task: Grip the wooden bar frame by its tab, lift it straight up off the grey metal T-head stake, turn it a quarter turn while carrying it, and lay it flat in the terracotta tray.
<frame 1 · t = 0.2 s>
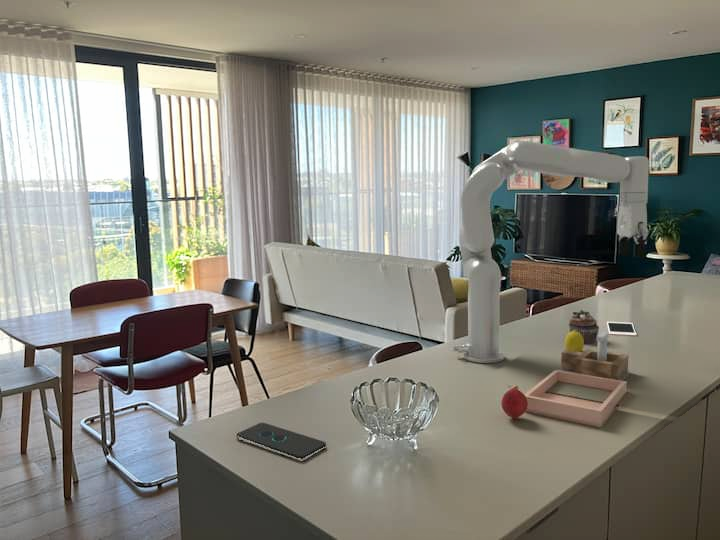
hand: (631, 255, 178), 31 cm above the worktop, fingers open, 9 cm apart
cell phone: (620, 330, 213), on the worktop
tray: (575, 403, 145), on the worktop
slab with cyan rings: (280, 446, 128), on the worktop
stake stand: (592, 376, 163), on the worktop
cupcake: (583, 340, 200), on the worktop
onion: (514, 419, 137), on the worktop
wooden bar frame: (601, 374, 162), point 1 cm above the worktop, touching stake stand
lemon: (574, 356, 184), on the worktop
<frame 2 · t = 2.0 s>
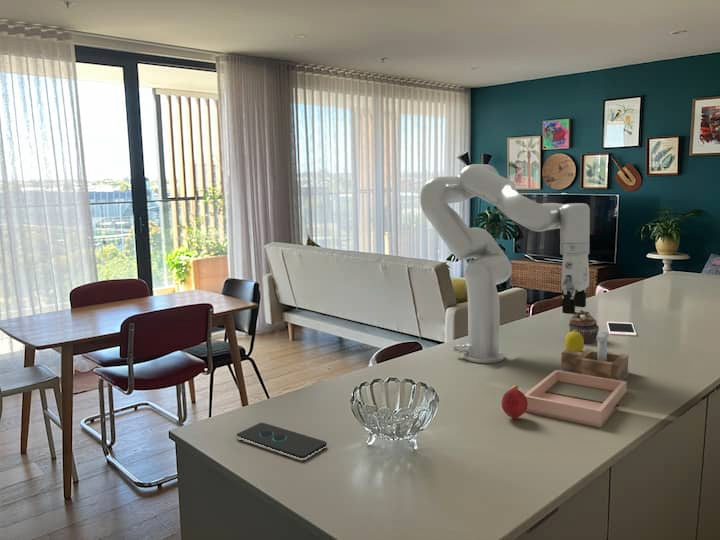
hand: (574, 309, 164), 18 cm above the worktop, fingers open, 9 cm apart
nothing on the worktop moved.
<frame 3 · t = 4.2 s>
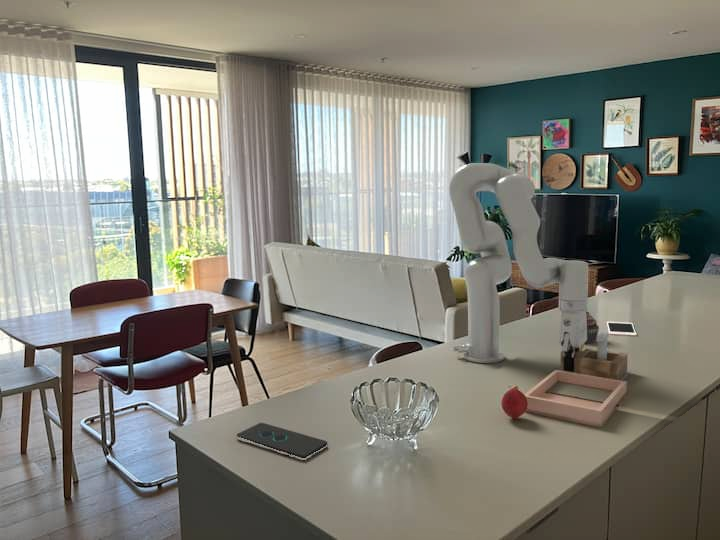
hand: (571, 368, 167), 2 cm above the worktop, fingers closed on wooden bar frame, 3 cm apart
wooden bar frame: (600, 373, 162), point 1 cm above the worktop, touching gripper, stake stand
everything else where it was.
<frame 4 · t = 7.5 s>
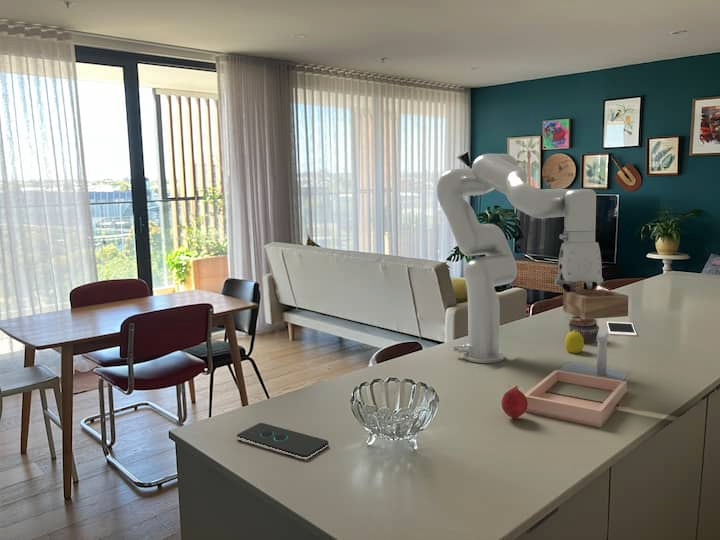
hand: (578, 307, 154), 21 cm above the worktop, fingers closed on wooden bar frame, 3 cm apart
wooden bar frame: (594, 313, 147), point 21 cm above the worktop, touching gripper
everything else where it was.
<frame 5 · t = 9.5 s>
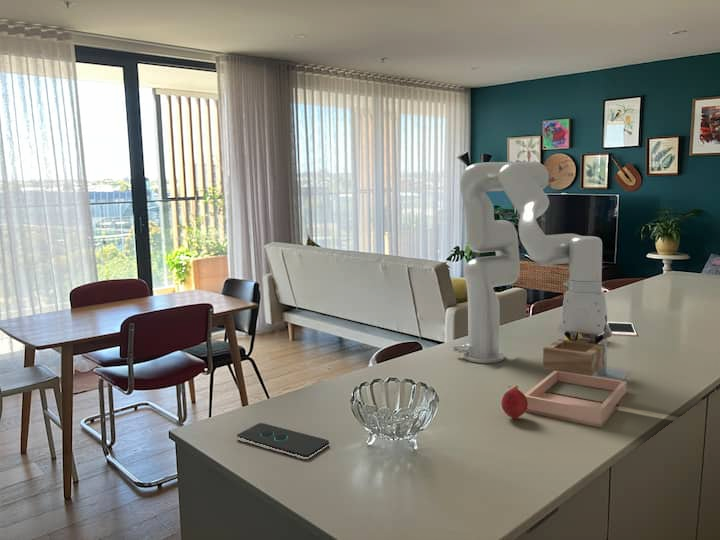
hand: (584, 358, 148), 10 cm above the worktop, fingers closed on wooden bar frame, 3 cm apart
wooden bar frame: (573, 366, 141), point 10 cm above the worktop, touching gripper
everything else where it was.
when the fingers open (3 cm above the worktop, at t = 11.0 s): wooden bar frame stays where it is, resting on tray.
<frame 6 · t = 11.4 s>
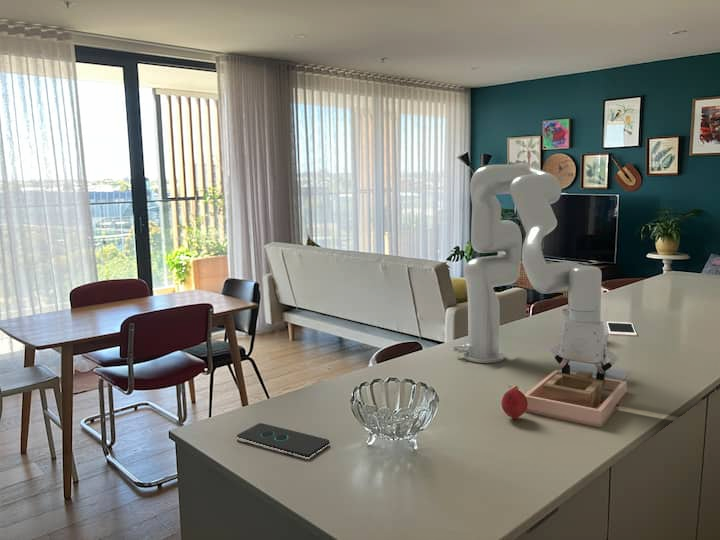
hand: (582, 383, 149), 3 cm above the worktop, fingers open, 7 cm apart
wooden bar frame: (573, 402, 143), point 1 cm above the worktop, touching tray
everything else where it was.
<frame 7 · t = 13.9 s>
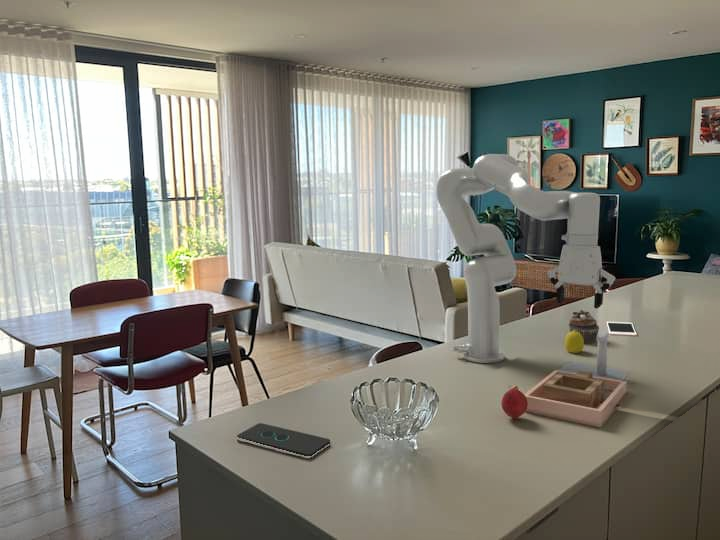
hand: (578, 304, 156), 22 cm above the worktop, fingers open, 9 cm apart
nothing on the worktop moved.
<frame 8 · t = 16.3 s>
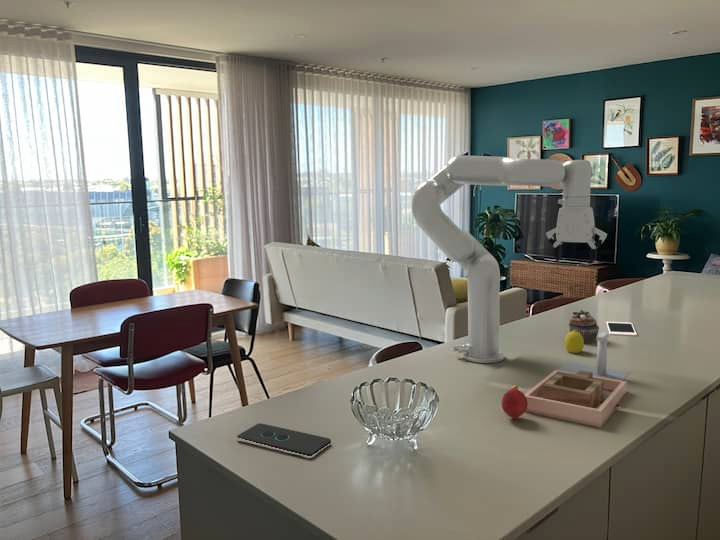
hand: (575, 261, 174), 30 cm above the worktop, fingers open, 9 cm apart
at the end: wooden bar frame inside the target area on the tray (0.7 cm from its centre), point 0.8 cm above the tray's base; wooden bar frame tilted 0°; the gripper is holding nothing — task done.
